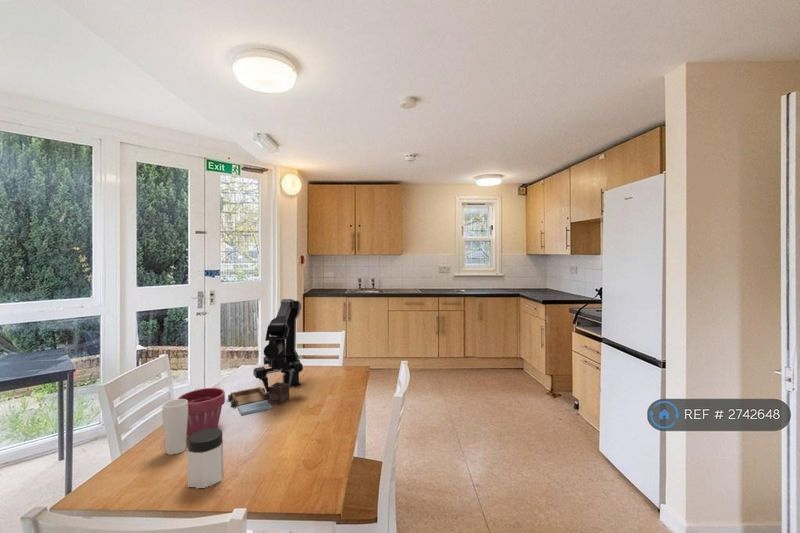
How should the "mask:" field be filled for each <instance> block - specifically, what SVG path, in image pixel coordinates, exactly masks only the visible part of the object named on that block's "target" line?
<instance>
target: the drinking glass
mask: <svg viewBox="0 0 800 533" xmlns="http://www.w3.org/2000/svg"><path fill="white" fill-rule="evenodd" d="M161 412H162V414H161V416H162V425H163V433H164V442H165V443H164V444H165V453H166V454H167V455H170V456H172V455H173V454H175V455H178V453H179V454H180V453H183V452H184V451H185V450H186V449H187V437H188V435H187V424H188V401H187V400H186V399H178V398H176V399H172V400H169V401H166V402H164V403H163V404H162V411H161ZM173 456H174V455H173Z"/></svg>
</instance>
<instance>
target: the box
mask: <svg viewBox="0 0 800 533" xmlns="http://www.w3.org/2000/svg"><path fill="white" fill-rule="evenodd" d="M268 389H269V390H268V395H269V399H268V400H269V401H268V403H269V404H270V405H271V404H273V405H278V406H279V405H283V404H285V403H286V402H288V401H289V400H290V388H289V384H288V383H283V382H278V381H277V382H276V383H273V384H271V385H268Z"/></svg>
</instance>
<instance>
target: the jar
mask: <svg viewBox="0 0 800 533" xmlns="http://www.w3.org/2000/svg"><path fill="white" fill-rule="evenodd" d="M187 449H188V450H187V453H186V457H187V458H186V459H187V488H189V487H196V488H195V489H198V488H205V487H207V488H209V487H211V486H213V485H216V484H218V483H220V482H222V479H223V475H224V439H223V431H222V430H221V429H219V428H217V429H205V430H201V431H198V432H196V433H194V434H192V435H191V436H190V437H189V436H188V439H187ZM208 486H209V487H208ZM205 489H206V488H205Z"/></svg>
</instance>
